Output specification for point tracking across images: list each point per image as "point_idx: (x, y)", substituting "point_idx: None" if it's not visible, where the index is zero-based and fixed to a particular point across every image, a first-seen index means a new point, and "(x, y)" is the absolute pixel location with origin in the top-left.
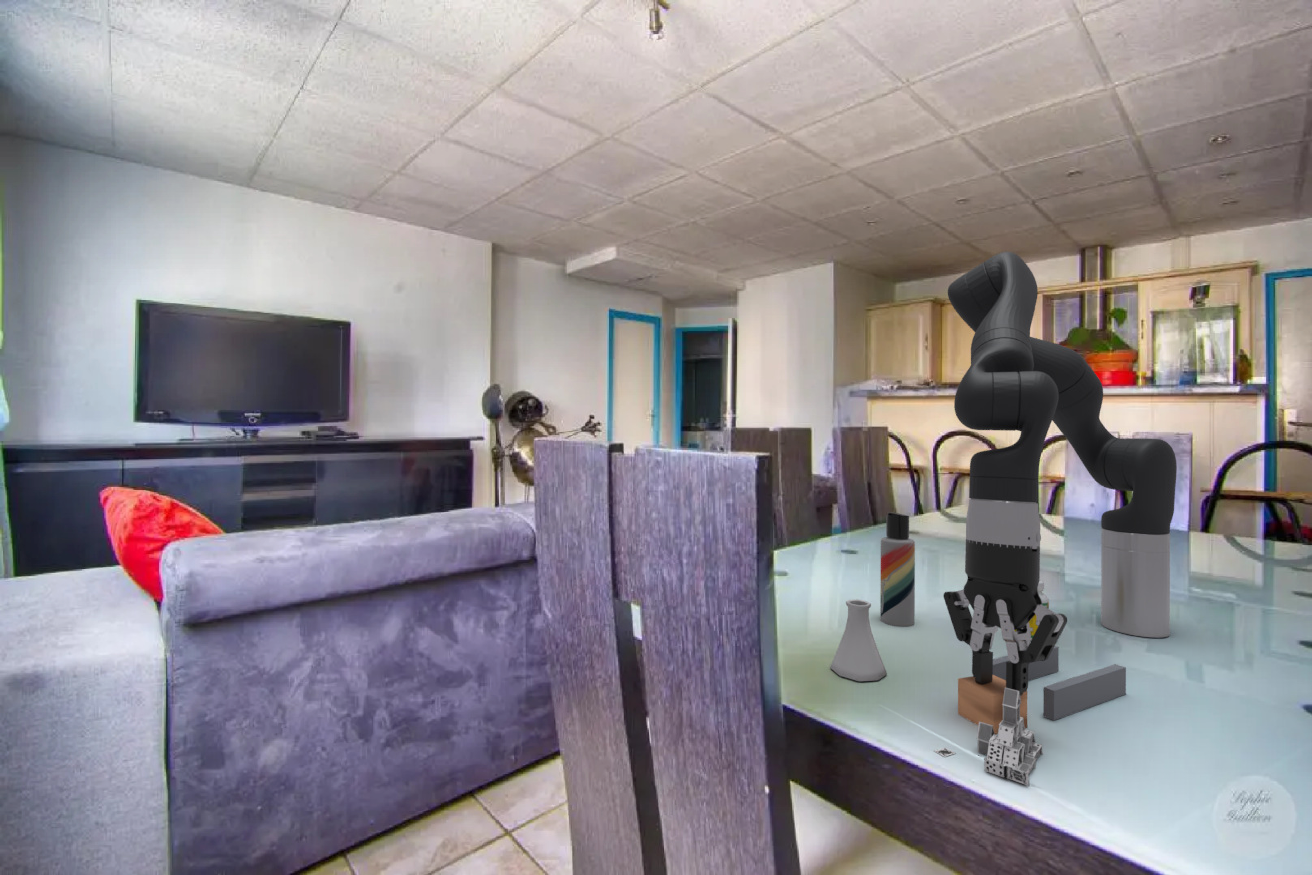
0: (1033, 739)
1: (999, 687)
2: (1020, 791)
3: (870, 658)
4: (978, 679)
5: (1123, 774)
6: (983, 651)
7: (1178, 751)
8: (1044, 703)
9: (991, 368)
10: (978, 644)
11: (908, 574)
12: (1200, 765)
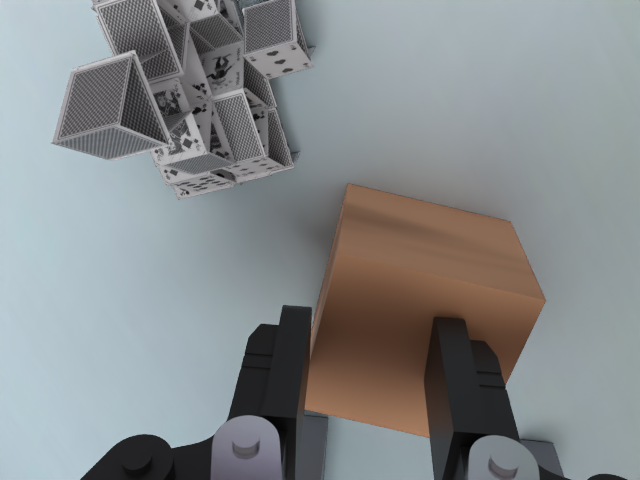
0: (191, 189)
1: (373, 350)
2: None
3: None
4: (450, 327)
5: (26, 264)
6: (458, 462)
7: (62, 473)
8: (320, 449)
9: None
10: (478, 474)
11: None
12: (4, 444)
